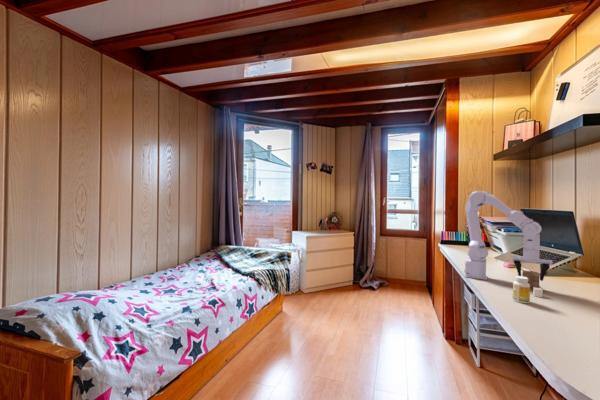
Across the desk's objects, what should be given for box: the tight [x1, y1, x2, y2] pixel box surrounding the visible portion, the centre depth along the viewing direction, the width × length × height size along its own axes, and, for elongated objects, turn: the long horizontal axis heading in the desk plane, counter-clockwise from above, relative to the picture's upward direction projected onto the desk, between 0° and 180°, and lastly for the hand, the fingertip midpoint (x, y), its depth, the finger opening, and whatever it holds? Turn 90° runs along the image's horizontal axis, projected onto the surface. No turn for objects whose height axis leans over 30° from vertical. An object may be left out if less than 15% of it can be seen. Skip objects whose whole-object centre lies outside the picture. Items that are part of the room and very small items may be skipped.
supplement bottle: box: [512, 275, 531, 304], centre depth 113 cm, size 5×5×10 cm
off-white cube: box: [532, 287, 544, 298], centre depth 118 cm, size 3×3×3 cm
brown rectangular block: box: [521, 269, 540, 289], centre depth 127 cm, size 5×5×7 cm
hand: (530, 278), depth 128 cm, fingers open, 7 cm apart
